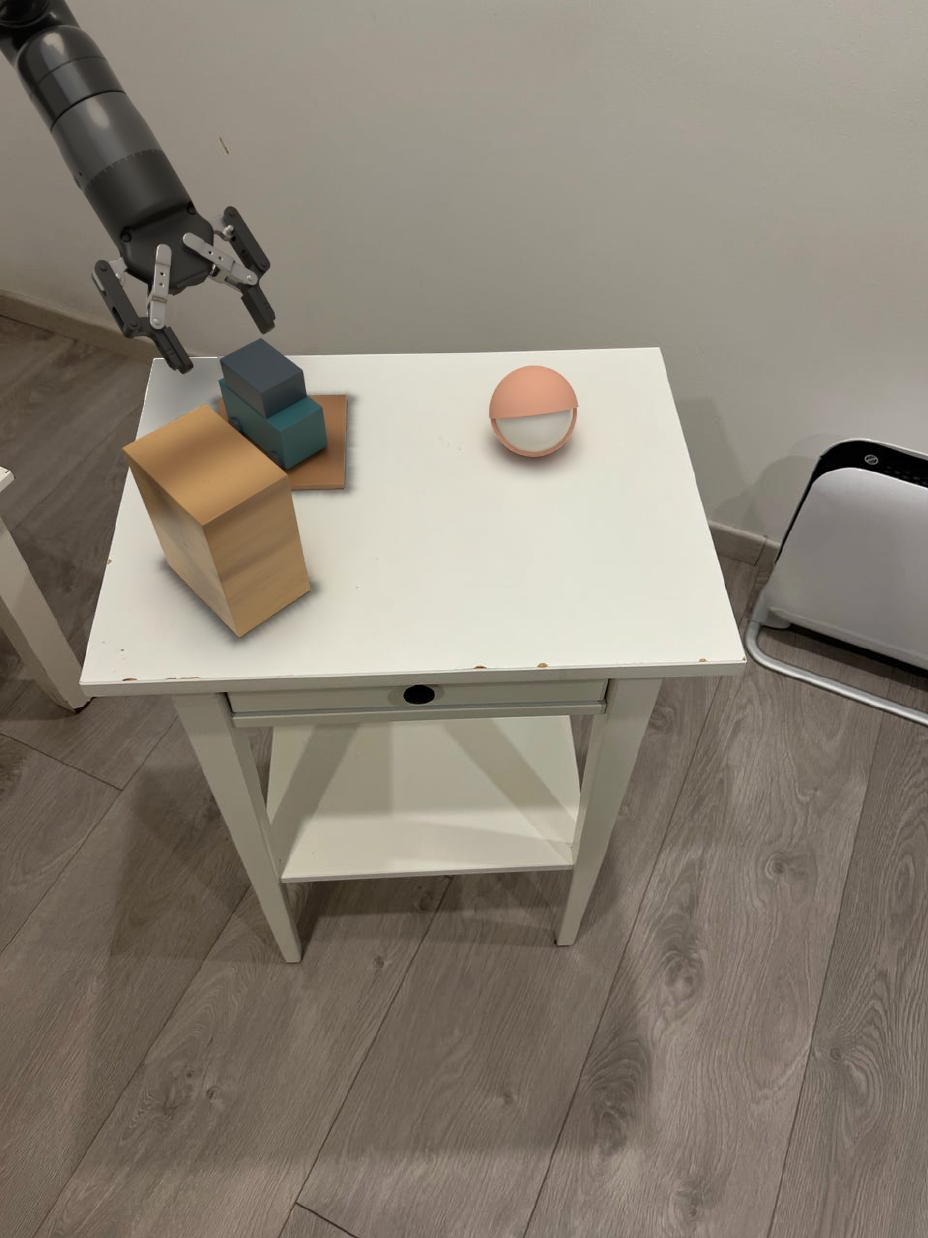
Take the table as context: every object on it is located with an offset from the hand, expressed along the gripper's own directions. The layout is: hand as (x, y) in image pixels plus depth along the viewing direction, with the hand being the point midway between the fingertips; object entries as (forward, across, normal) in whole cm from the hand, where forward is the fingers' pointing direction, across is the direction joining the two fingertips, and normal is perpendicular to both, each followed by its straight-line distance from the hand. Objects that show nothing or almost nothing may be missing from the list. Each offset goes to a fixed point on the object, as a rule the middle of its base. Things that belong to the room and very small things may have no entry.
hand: (230, 350), depth 77 cm
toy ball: (+20, +17, -10) cm, 28 cm away
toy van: (+9, 0, +1) cm, 9 cm away
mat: (+9, 0, +1) cm, 9 cm away
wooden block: (+16, -12, -6) cm, 21 cm away
